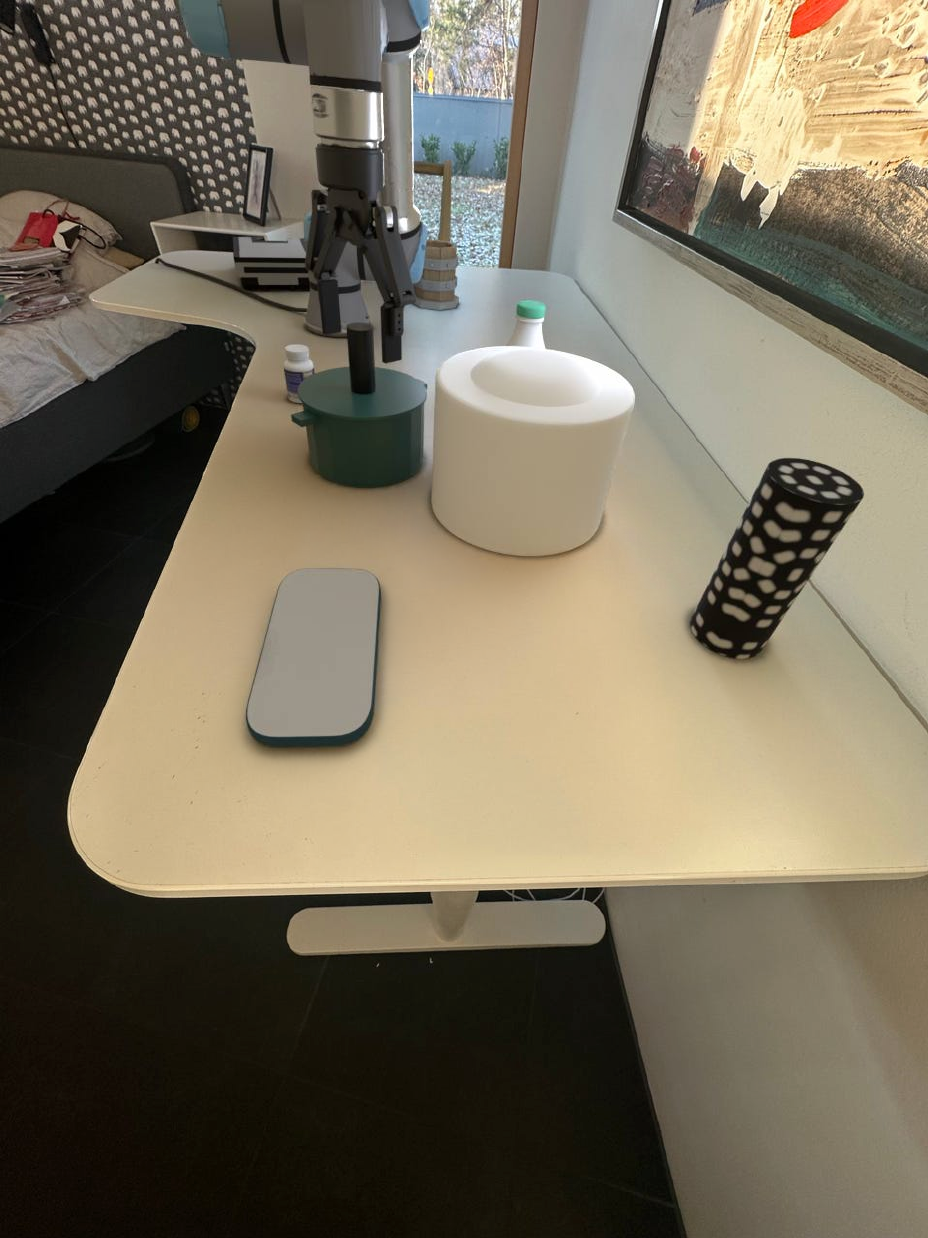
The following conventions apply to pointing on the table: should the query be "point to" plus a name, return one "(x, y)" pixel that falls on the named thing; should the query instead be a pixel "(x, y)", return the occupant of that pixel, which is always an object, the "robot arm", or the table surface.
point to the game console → (270, 263)
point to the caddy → (446, 172)
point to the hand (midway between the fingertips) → (360, 346)
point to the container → (526, 447)
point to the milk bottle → (528, 325)
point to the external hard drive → (318, 660)
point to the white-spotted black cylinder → (773, 554)
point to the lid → (362, 385)
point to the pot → (364, 447)
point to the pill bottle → (296, 369)
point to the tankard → (438, 277)
